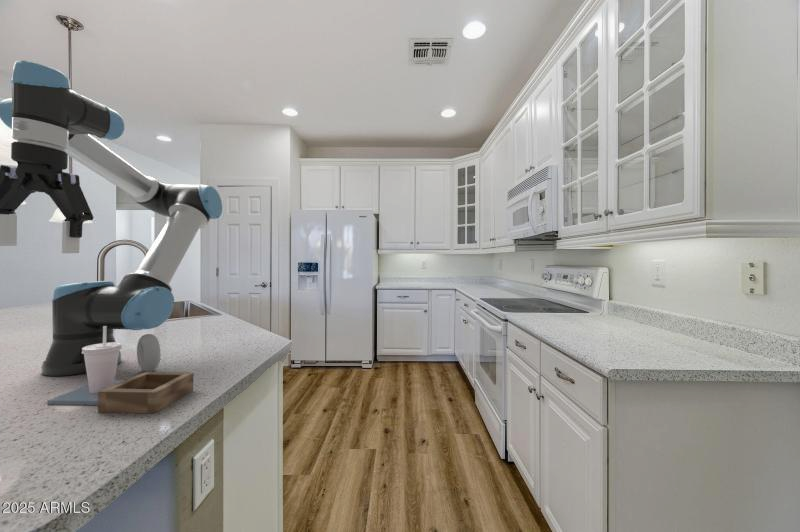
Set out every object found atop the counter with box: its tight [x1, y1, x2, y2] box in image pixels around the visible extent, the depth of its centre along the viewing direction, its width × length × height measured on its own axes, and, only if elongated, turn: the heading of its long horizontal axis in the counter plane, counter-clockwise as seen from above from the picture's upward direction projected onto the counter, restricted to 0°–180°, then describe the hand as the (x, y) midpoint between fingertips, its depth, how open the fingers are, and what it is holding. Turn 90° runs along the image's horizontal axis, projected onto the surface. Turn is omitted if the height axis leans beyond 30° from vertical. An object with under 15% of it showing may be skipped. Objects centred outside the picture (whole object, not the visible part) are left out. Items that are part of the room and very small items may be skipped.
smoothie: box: [82, 326, 123, 393], centre depth 68 cm, size 6×6×14 cm
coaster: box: [46, 379, 123, 406], centre depth 68 cm, size 11×11×1 cm
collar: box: [97, 371, 194, 414], centre depth 65 cm, size 11×11×4 cm
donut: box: [136, 333, 162, 373], centre depth 82 cm, size 10×4×10 cm, turn 53°
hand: (38, 249), depth 65 cm, fingers open, 13 cm apart
